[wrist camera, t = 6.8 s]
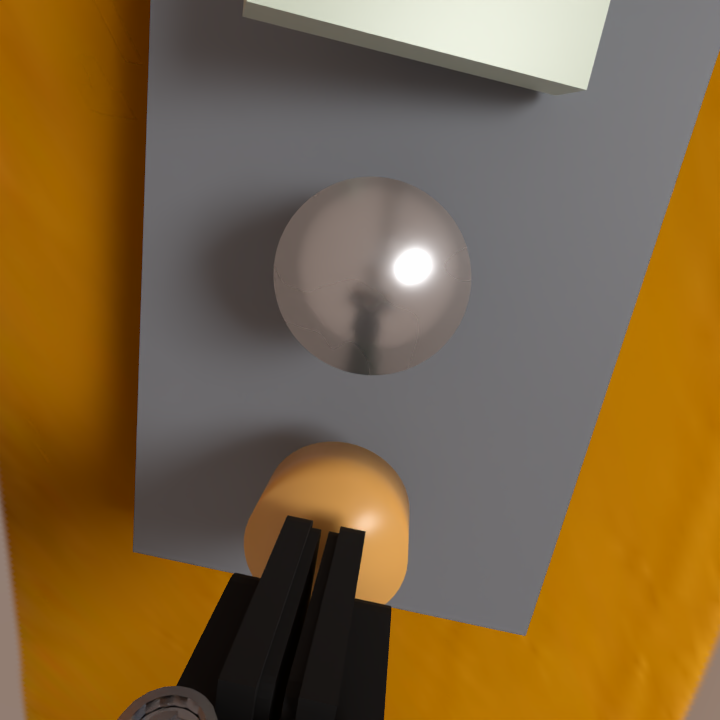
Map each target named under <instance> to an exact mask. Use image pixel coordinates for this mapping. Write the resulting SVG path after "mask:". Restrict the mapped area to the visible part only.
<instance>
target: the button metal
mask: <svg viewBox="0 0 720 720" xmlns="http://www.w3.org/2000/svg"><path fill="white" fill-rule="evenodd" d="M273 278H274V290H275V295H276V299H277V303H278V306H279V309H280V312H281V314H282V316H283V318H284V321H285V323H286V325H287V326H288V328H289V329H290V331H291V332H292V334H293V335H294V336H295V338H296V339H297V340H298V341H299V342H300V344H301V345H302V346H303V347H305V348H306V349H307V350H308V351H309V352H310V353H311V354H313V355H314V356H315V357H317V358H318V359H320V360H321V361H323V362H325V363H327V364H328V365H330V366H332V367H335V368H338V369H340V370H343V371H346V372H350V373H354V374H361V375H386V374H393V373H397V372H400V371H404V370H407V369H409V368H412V367H414V366H416V365H418V364H420V363H422V362H424V361H425V360H427V359H428V358H430V357H431V356H432V355H434V354H435V353H436V352H437V351H439V350H440V349H441V348H442V347H443V346H444V345H445V344H446V343H447V341H448V340H449V339H450V338H451V336H452V335H453V334H454V332H455V331H456V329H457V327H458V326H459V324H460V322H461V320H462V318H463V316H464V313H465V311H466V307H467V304H468V301H469V296H470V290H471V265H470V258H469V254H468V250H467V246H466V243H465V241H464V238H463V236H462V234H461V232H460V230H459V228H458V226H457V225H456V223H455V221H454V220H453V219H452V217H451V216H450V215H449V213H448V212H447V211H446V210H445V209H444V208H443V207H442V206H441V205H440V204H439V203H438V202H437V201H436V200H435V199H433V198H432V197H431V196H429V195H428V194H427V193H425V192H424V191H422V190H420V189H418V188H416V187H415V186H412V185H410V184H407V183H405V182H402V181H399V180H394V179H390V178H384V177H358V178H353V179H347V180H344V181H341V182H338V183H335V184H333V185H331V186H329V187H327V188H325V189H323V190H321V191H320V192H318V193H317V194H315V195H314V196H312V197H311V198H310V199H309V200H307V201H306V202H305V203H304V204H303V205H302V206H301V207H300V208H299V209H298V210H297V212H296V213H295V214H294V215H293V216H292V218H291V220H290V221H289V223H288V224H287V226H286V227H285V230H284V232H283V234H282V236H281V238H280V241H279V244H278V247H277V250H276V255H275V261H274V274H273Z"/></svg>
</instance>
